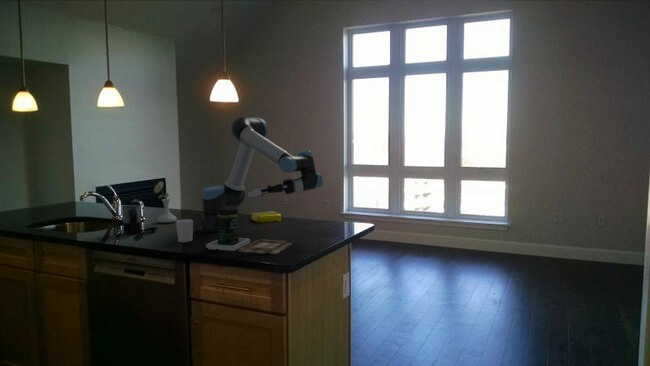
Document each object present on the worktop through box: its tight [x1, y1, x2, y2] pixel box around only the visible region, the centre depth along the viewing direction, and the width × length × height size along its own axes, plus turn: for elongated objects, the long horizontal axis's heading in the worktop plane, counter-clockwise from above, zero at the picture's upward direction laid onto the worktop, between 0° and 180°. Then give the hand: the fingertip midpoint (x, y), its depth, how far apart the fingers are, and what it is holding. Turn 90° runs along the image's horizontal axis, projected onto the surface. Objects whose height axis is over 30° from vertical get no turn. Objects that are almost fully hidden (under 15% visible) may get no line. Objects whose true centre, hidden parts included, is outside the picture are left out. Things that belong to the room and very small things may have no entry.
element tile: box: [251, 210, 282, 224], centre depth 289 cm, size 15×15×5 cm
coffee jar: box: [217, 206, 240, 246], centre depth 221 cm, size 10×8×19 cm
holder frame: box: [205, 237, 251, 251], centre depth 221 cm, size 14×16×2 cm
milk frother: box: [121, 204, 159, 236], centre depth 253 cm, size 14×16×15 cm
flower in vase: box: [153, 180, 178, 224], centre depth 283 cm, size 13×11×25 cm
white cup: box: [175, 218, 194, 243], centre depth 233 cm, size 8×8×10 cm
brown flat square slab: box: [238, 239, 293, 255], centre depth 216 cm, size 18×18×2 cm
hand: (250, 193), depth 228 cm, fingers open, 13 cm apart
